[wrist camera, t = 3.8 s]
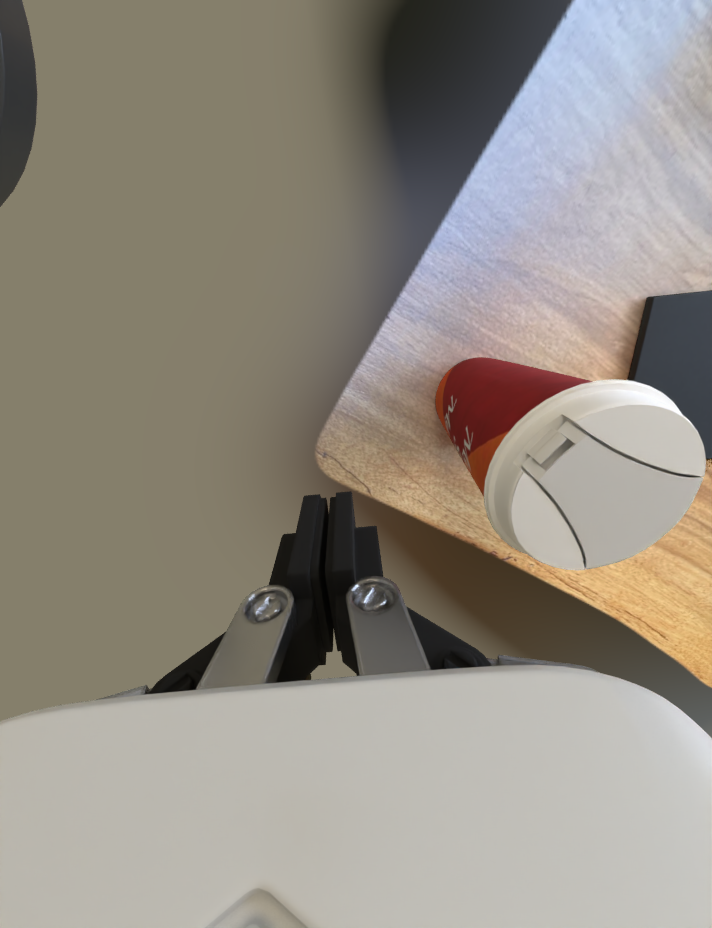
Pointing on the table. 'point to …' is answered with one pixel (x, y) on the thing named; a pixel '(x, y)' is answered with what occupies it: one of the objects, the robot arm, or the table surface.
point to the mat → (679, 355)
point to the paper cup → (571, 459)
